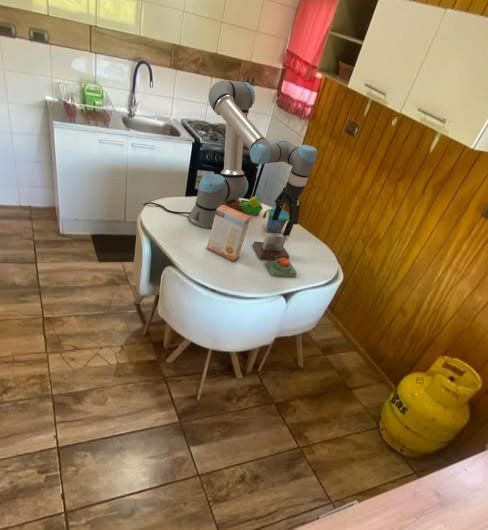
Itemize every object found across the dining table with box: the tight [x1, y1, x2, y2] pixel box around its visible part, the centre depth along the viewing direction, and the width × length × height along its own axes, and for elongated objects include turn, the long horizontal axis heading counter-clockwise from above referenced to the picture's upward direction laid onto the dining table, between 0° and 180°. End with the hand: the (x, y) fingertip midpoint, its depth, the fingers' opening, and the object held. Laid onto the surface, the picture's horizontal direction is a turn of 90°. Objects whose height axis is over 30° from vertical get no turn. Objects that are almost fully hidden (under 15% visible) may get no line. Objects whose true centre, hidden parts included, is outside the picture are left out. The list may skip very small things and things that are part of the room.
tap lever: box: [262, 232, 288, 251], centre depth 174 cm, size 9×3×8 cm, turn 100°
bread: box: [219, 198, 243, 213], centre depth 203 cm, size 19×11×10 cm, turn 19°
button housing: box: [265, 259, 298, 278], centre depth 166 cm, size 11×8×4 cm
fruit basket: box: [240, 195, 264, 216], centre depth 205 cm, size 11×9×11 cm
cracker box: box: [206, 205, 252, 262], centre depth 165 cm, size 14×6×21 cm, turn 56°
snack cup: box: [262, 207, 289, 234], centre depth 194 cm, size 16×10×10 cm
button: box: [278, 258, 291, 267], centre depth 165 cm, size 4×4×2 cm
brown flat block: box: [252, 240, 290, 261], centre depth 177 cm, size 14×13×3 cm
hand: (280, 227), depth 169 cm, fingers open, 13 cm apart
